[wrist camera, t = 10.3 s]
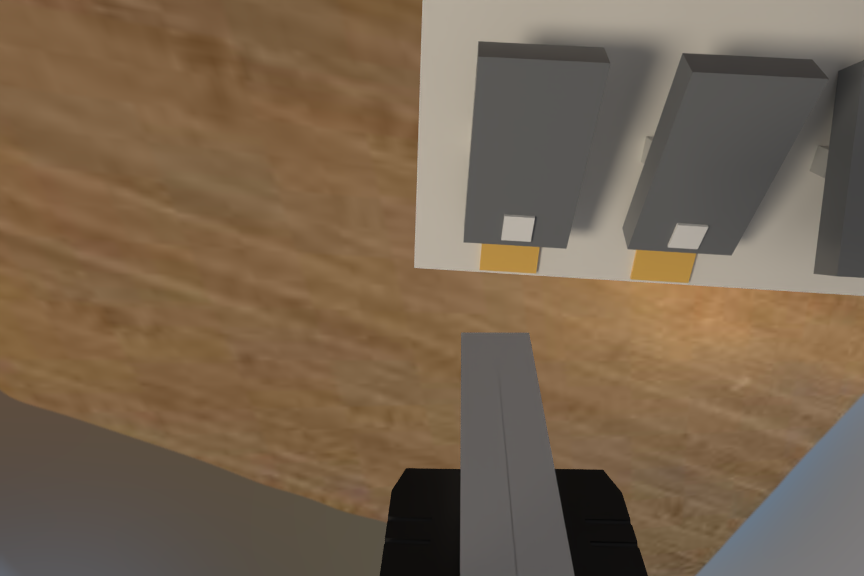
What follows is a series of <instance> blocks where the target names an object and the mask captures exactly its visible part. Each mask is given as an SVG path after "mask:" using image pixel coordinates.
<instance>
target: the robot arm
mask: <svg viewBox="0 0 864 576" xmlns="http://www.w3.org/2000/svg"><path fill="white" fill-rule="evenodd" d="M380 576H648V575H647V572H646V568H645V565H644V562H643V559H642V556H641V552H640V549H639V548H638V546H637V540H636V536H635V533H634V530H633V527H632V525H631V524H630V517H629V514H628V511H627V507H626V504H625V501H624V498H623V495H622V492H621V491H620V490H619V489H618V487H617V486H616V485H615V484H614V483H613V481H612V480H611V479H610V478H609V476H608V475H607V474H606V473H605V472H604V470H584V469H554V464H553V458H552V453H551V448H550V442H549V437H548V432H547V426H546V421H545V416H544V410H543V405H542V400H541V394H540V389H539V384H538V378H537V373H536V368H535V362H534V357H533V352H532V347H531V341H530V336H529V333H461V469H417V468H406V469H405V471H404V473H403V474H402V476H401V477H400V479H399V480H398V482H397V483H396V485H395V486H394V488H393V489H392V492H391V500H390V507H389V514H388V522H387V528H386V535H385V544H384V550H383V557H382V564H381V571H380Z"/></svg>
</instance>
